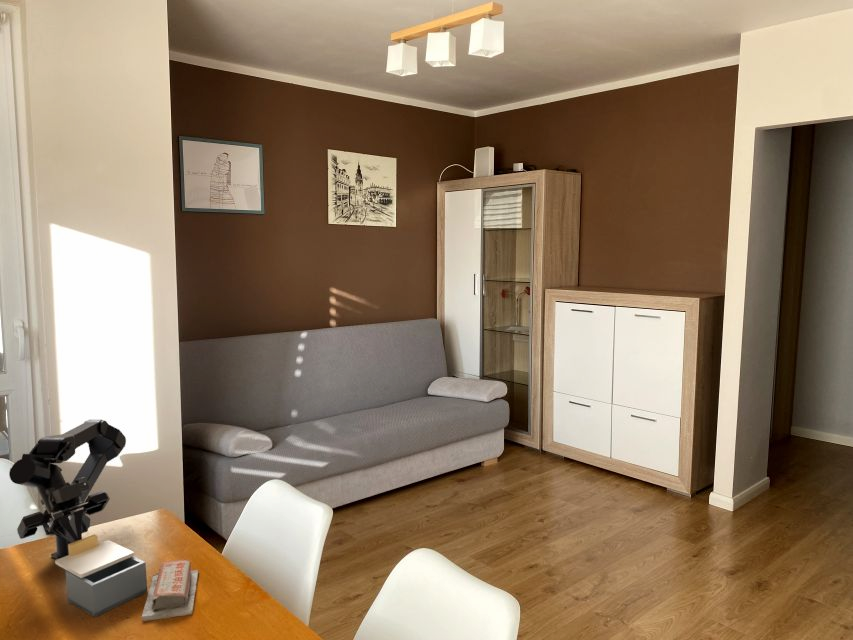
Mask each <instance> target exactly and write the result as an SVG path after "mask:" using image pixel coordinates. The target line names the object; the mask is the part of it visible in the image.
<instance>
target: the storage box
mask: <svg viewBox="0 0 853 640" xmlns="http://www.w3.org/2000/svg"><path fill="white" fill-rule="evenodd" d="M146 566H147V565H146V561H144V560H141V559H140V558H137V557H136V556H135V555H134V556H132V557H130V558H127V559H125V560H123V561H120V562H118V563H116V564H113V565H111V566H109V567H106V568H104V569H102V570H99V571H97V572H95V573H92V574H90V575H88V576H85V577H83V578H80V577H78V576H76V575H74V574H73V573H71V572H69V571H67V570H64V571H65V581H66V592H67V593H66V594H67V601H68V602H69V603H71V604H72V605H74V606H75V607H77V608H79V610H82V611H84V612H85V613H87V614H88V613H89V614H88V615H90V616H91V617H93V618H97V617H99V616H100V615H103V614H104V613H107V612H108V611H110V610H113V609H114V608H116V607H119V606H122V605H123V604H125V603H127V602H129V601H131V600H133V599H136V598H137V597H139V596H142V595H143V594H146V593H148V592H149V590H148V580H147V567H146Z"/></svg>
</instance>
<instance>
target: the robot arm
mask: <svg viewBox="0 0 853 640" xmlns="http://www.w3.org/2000/svg"><path fill="white" fill-rule="evenodd" d="M86 443H87V444H88V449H89V454H88V456H87V458H86V459H85V461H84V463H83V464H82V466H80V469H79V470H78V472H77V474H76V475H75V477H74V478H73V480H72V482H71V483H69V482H66V480H65V478H64V476H63V474H62V470H63V469H62V467H60V466H59V465H57V464H63V462H67V461H69V460H70V459H71V458H72V457H73V456H74V455H75V454H76V449H78V448H79V447H81V446H82V445H84V444H86ZM126 443H127V439H126V436H125V434H124V433H123V432H122V431H121V430H120V429H118V428H117V427H114V426H113V425H111V424H109V422H107V421H106V420H105V419H104V420H103V419H88V420H85V421H84V422H83V423H81V424H79V425H78V426H76V427H73V428H72V429H69V430H67V431H65V432H63V433H62V434H56V435H55V434H54V435H49V436H48V435H46V436H43V437H40V438H39V440H37V442H36V444H35V445H34V447H32V449H31V450H30V451H29V452H28V453H23V454H22V456H21V459H18V460H17V461H15V462H14V463H13V464H12V466H11V467H10V469H9V471H8V472H9V479H10V480H11V482H12V483H14V484H15V485H16V484H17V485H20V486H24V487H29V488H33V489H34V488H36V489H37V491H38V494H39V495H40V498H41V500H40V503H41V505H44V508H45V510H44V511H43V512H41V511H36V512H33V513H30V514H28V515H25V516H23V517H22V518H21V521H20V523H19V524H18V527H17V529H16V530H17V534H18V537H19V539H21V540H23V539H26V538H28V537H31V536H35V534H36V533H37V531H38V527H42V528H43V530H44V533H45V535H46V536H50V535H52V536H53V535H54V536H55V546H56V547H55V549H56V551H55V552H53V553H51V554H50V556H51V557H52V559H53V558H54V559H55V560H57V559H60V558H63V557H65V556H68V555H69V550H68V544H70V543H73V542H76V541H78V540H81V539H83V536H82V535H83V534H84V533H87V532H89V528H90V527H91V518H90V517H89V516H91V515H94V514H98V513H100V512H102V511H103V510H104V509H105V508H106V506H107V505H108V503H109V501H110V496H109V495H108V493H107V492H106V491H103V490H102V491H97V492H95V493H92V494H90V492H91V491H92V489H93V487H94V486H95V483H97V480H98V479H99V477H100V476H101V474H102V472H103V470H104V468H105V467H106V466H107V463H109V462H110V461H112V460H114V459H115V458H117V457H119V455H120V453H121V452H123V450H124V448H125V447H126V445H127V444H126ZM89 494H90V495H89Z"/></svg>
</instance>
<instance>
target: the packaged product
mask: <svg viewBox="0 0 853 640" xmlns="http://www.w3.org/2000/svg"><path fill="white" fill-rule="evenodd" d="M198 574H199V569H194V570H192V566H191V561H190V560H187V559H178V560H169V561H163V562H162V563H161V565H160V568H159V569H158V573H155V574H153V575H152V578H151V579H152V580H151V583H150V587H149V590H148V592H147V597H146V600H145V604H144V607H143V609H142V610H143V611H142V614H141V619H142V622H147V621H154V620H162V619H168V618H175V617H180V616H181V617H182V616H189V615H192V614H193V610H194V605H195V597H196V596H195V595H196V591H197V583H198V579H199V578H198V576H199V575H198Z"/></svg>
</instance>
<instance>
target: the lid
mask: <svg viewBox="0 0 853 640" xmlns="http://www.w3.org/2000/svg"><path fill="white" fill-rule="evenodd" d="M68 550H69V555H68V556H65V557H63V558H60V559H55V560H54V563H55V565H57V566H58V567H60V568H62V569H64V571H66V570H67V571H69V572H71V573H73V574H74V575H76V576H78V577H80V578H83V577H85V576H88V575H90V574H92V573H95V572H97V571H99V570H102V569H104V568H106V567H109V566H111V565H113V564H116V563H118V562H120V561H123V560H125V559H127V558H130V557H132V556H134V557H135V552H134V551H133V550H131V549H129V548H126V547H125V546H122V545H120V544H118V543H116V542H114V541H113V540H112V541H111V540H110V539H106V540H104V541H101V542H99V540H98V535H97V534H94V533H93V534H92V535H89V536H87V537H84V538H82V539H81V540H78V541H76V542H73V543H70V544H68Z"/></svg>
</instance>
